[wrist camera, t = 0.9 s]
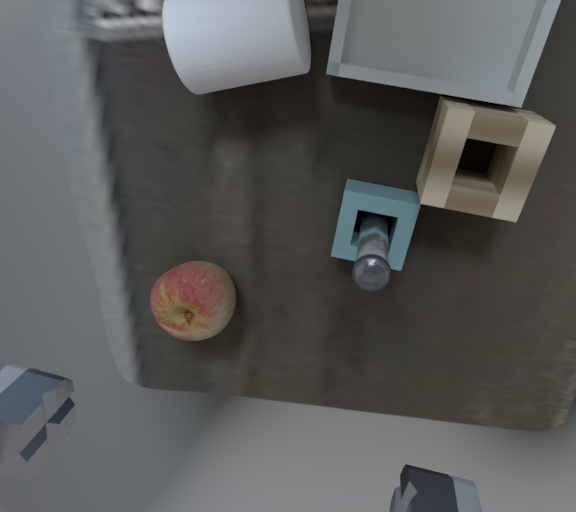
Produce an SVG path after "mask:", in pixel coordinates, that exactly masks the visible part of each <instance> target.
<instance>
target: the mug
mask: <svg viewBox="0 0 576 512" xmlns="http://www.w3.org/2000/svg"><path fill="white" fill-rule="evenodd" d="M162 22H163V31H164V36H165V41H166V45H167V49H168V52H169V55H170V58H171V61H172V63H173V66H174V68H175V70H176V72H177V74H178V76H179V78H180V79H181V81H182V82H183V84H184V85H185V86H186V87H187V88H188V89H189V90H190V91H191V92H193V93H195V94H205V93H210V92H215V91H220V90H225V89H230V88H235V87H240V86H245V85H250V84H255V83H260V82H265V81H270V80H276V79H281V78H286V77H291V76H296V75H301V74H306V73H307V72H308V71H309V69H310V65H311V45H310V34H309V27H308V20H307V14H306V8H305V3H304V0H164V4H163V10H162Z"/></svg>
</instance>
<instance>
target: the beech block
mask: <svg viewBox="0 0 576 512" xmlns="http://www.w3.org/2000/svg"><path fill="white" fill-rule="evenodd" d="M555 128H556V126H555V125H554V124H552V123H551V122H549V121H548V120H546V119H544V118H543V117H541V116H540V115H538V114H537V113H535V112H533V111H527V110H521V109H515V108H509V107H504V106H498V105H492V104H486V103H480V102H474V101H469V100H463V99H457V98H451V97H445V96H440V99H439V102H438V106H437V109H436V113H435V116H434V120H433V123H432V127H431V130H430V134H429V138H428V141H427V145H426V148H425V152H424V155H423V159H422V162H421V166H420V169H419V173H418V176H417V180H416V185H417V190H418V195H419V201H420V204H424V205H430V206H435V207H440V208H445V209H450V210H455V211H460V212H465V213H470V214H476V215H481V216H486V217H491V218H496V219H501V220H506V221H511V222H517V220H518V217H519V215H520V212H521V210H522V208H523V205H524V203H525V200H526V198H527V196H528V193H529V191H530V188H531V186H532V183H533V181H534V179H535V176H536V174H537V171H538V169H539V167H540V164H541V162H542V159H543V157H544V155H545V152H546V150H547V147H548V145H549V142H550V140H551V138H552V135H553V133H554V130H555ZM466 138H470V139H475V140H481V141H486V142H492V143H497V145H496V148H495V151H494V154H493V157H492V159H491V162H490V165H489V168H488V170H487V173H480V172H475V171H470V170H464V169H459V168H457V166H458V163H459V160H460V157H461V154H462V150H463V147H464V144H465V141H466Z"/></svg>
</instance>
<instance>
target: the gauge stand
mask: <svg viewBox="0 0 576 512" xmlns="http://www.w3.org/2000/svg"><path fill="white" fill-rule="evenodd" d="M420 206H421V204H420V201H419V195H418V192H414V191H409V190H404V189H399V188H393V187H388V186H383V185H378V184H373V183H368V182H362V181H357V180H352V179H347V182H346V186H345V190H344V195H343V200H342V205H341V210H340V214H339V219H338V224H337V229H336V234H335V238H334V243H333V248H332V253H331V256H333V257H337V258H342V259H347V260H351V261H356V258H357V250H358V242H359V234H360V232H356V231H353V230H354V225H355V221H356V216H357V212H358V210H363V211H368V212H373V213H378V214H383V215H388V216H393V217H394V220H393V224H392V227H391V231H390V235H389V238H388V263H389V265H390V269H394V270H399V271H401V270H402V266H403V263H404V260H405V256H406V253H407V249H408V246H409V243H410V239H411V236H412V233H413V229H414V226H415V223H416V219H417V216H418V213H419V209H420Z"/></svg>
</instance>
